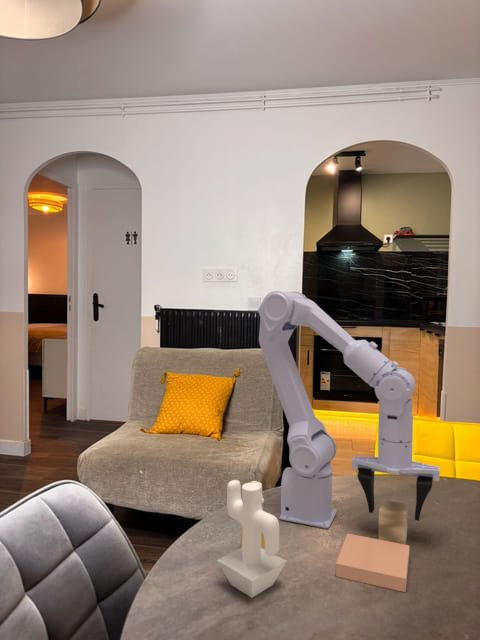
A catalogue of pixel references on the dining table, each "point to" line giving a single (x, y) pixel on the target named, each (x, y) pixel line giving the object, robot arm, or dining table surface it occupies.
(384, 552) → the riser
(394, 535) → the beech block
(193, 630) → the dining table surface
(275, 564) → the figurine
